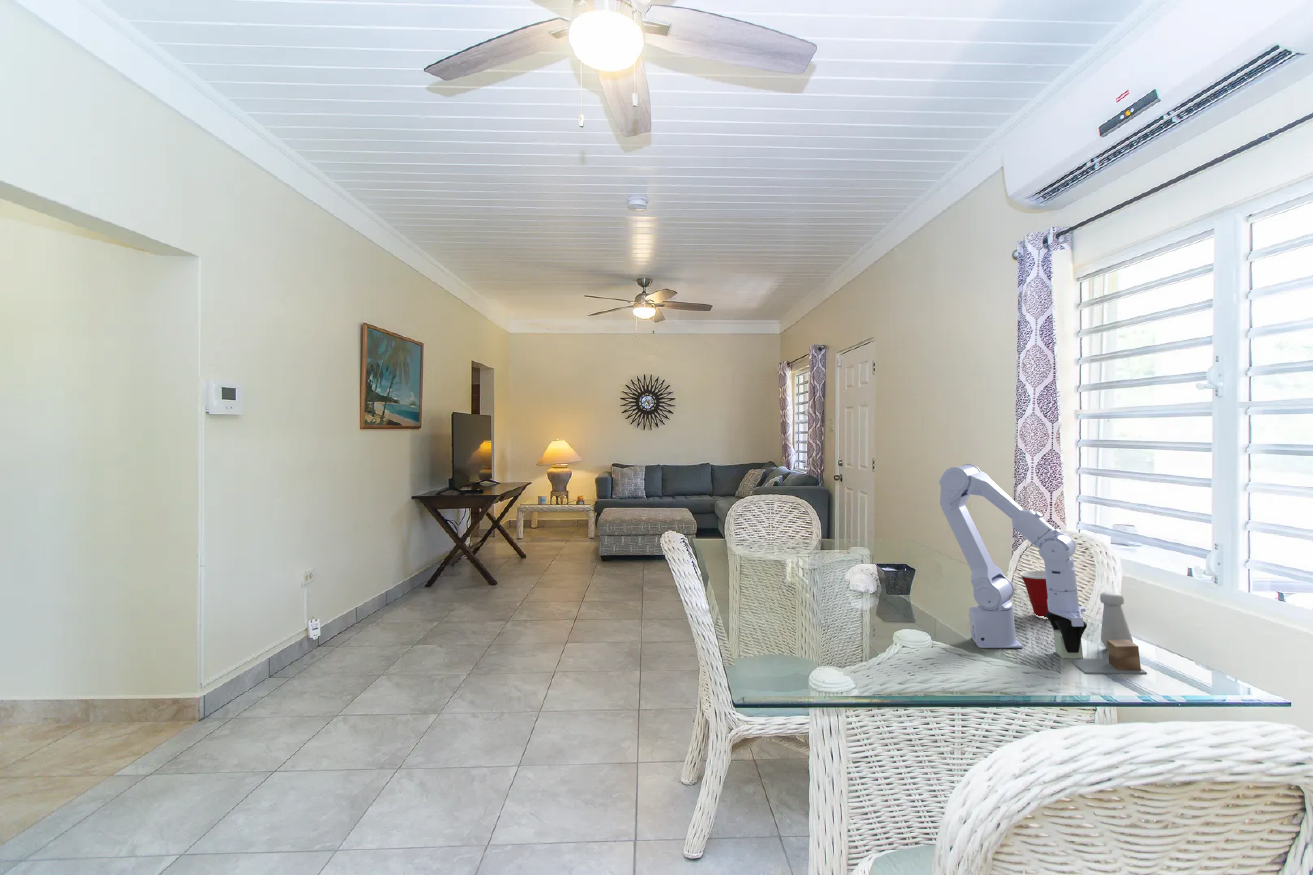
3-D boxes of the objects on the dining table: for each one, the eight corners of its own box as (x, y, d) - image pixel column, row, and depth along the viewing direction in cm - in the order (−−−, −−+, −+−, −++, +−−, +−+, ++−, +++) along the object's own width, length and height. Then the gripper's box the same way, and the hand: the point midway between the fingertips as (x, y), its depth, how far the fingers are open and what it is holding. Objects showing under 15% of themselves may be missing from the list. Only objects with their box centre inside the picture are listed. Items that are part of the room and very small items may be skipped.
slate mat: (1084, 673, 123) (1084, 672, 123) (1070, 660, 130) (1069, 658, 130) (1146, 673, 120) (1146, 672, 120) (1128, 659, 128) (1127, 658, 128)
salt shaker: (1140, 654, 130) (1133, 595, 130) (1110, 655, 131) (1104, 597, 131) (1124, 645, 135) (1118, 588, 135) (1096, 646, 136) (1090, 590, 137)
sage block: (1062, 658, 132) (1060, 635, 132) (1055, 651, 136) (1053, 629, 136) (1083, 657, 131) (1080, 635, 131) (1075, 651, 135) (1073, 629, 135)
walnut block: (1118, 670, 122) (1115, 646, 123) (1109, 663, 126) (1106, 639, 126) (1141, 670, 121) (1138, 646, 122) (1131, 663, 125) (1128, 639, 125)
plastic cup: (1058, 609, 164) (1053, 566, 164) (1080, 621, 153) (1075, 575, 153) (1016, 611, 165) (1011, 569, 165) (1035, 623, 154) (1030, 578, 155)
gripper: (1096, 596, 126) (1104, 660, 125) (1068, 579, 140) (1075, 637, 139) (1059, 597, 127) (1066, 660, 127) (1035, 581, 141) (1041, 637, 141)
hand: (1068, 648), depth 133 cm, fingers closed on sage block, 4 cm apart
